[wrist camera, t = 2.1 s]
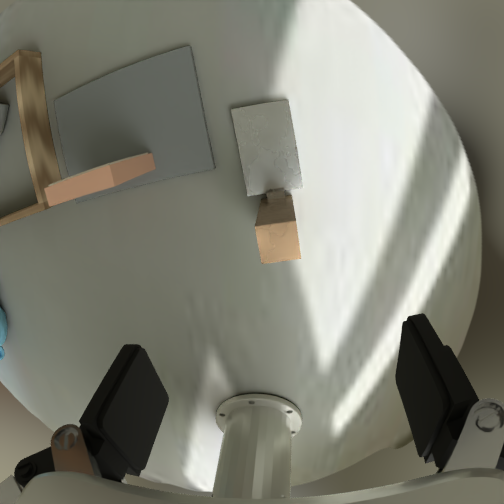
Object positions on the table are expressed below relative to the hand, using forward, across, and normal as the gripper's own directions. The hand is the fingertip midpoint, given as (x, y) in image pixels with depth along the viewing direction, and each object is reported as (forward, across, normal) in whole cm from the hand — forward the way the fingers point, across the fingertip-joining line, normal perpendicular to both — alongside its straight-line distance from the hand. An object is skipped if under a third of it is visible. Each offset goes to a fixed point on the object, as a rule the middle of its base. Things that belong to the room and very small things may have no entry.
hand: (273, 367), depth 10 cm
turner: (+20, 0, -4) cm, 21 cm away
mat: (+20, +13, -11) cm, 26 cm away
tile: (+20, +14, -7) cm, 25 cm away
